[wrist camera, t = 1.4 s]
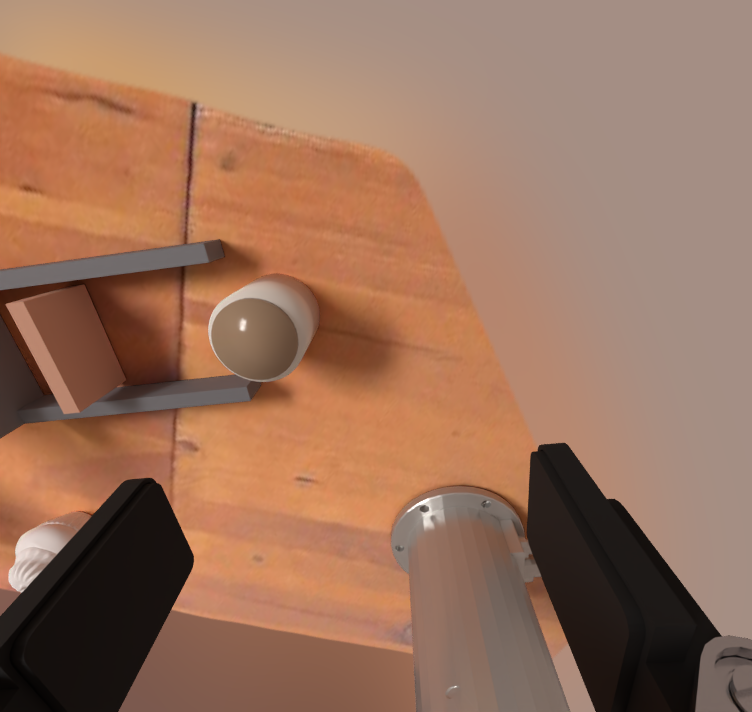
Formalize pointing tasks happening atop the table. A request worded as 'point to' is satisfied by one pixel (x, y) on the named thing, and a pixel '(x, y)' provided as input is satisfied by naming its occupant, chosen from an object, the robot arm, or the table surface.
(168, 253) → the frame
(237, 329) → the jar
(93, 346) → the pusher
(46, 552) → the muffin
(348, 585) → the table surface
